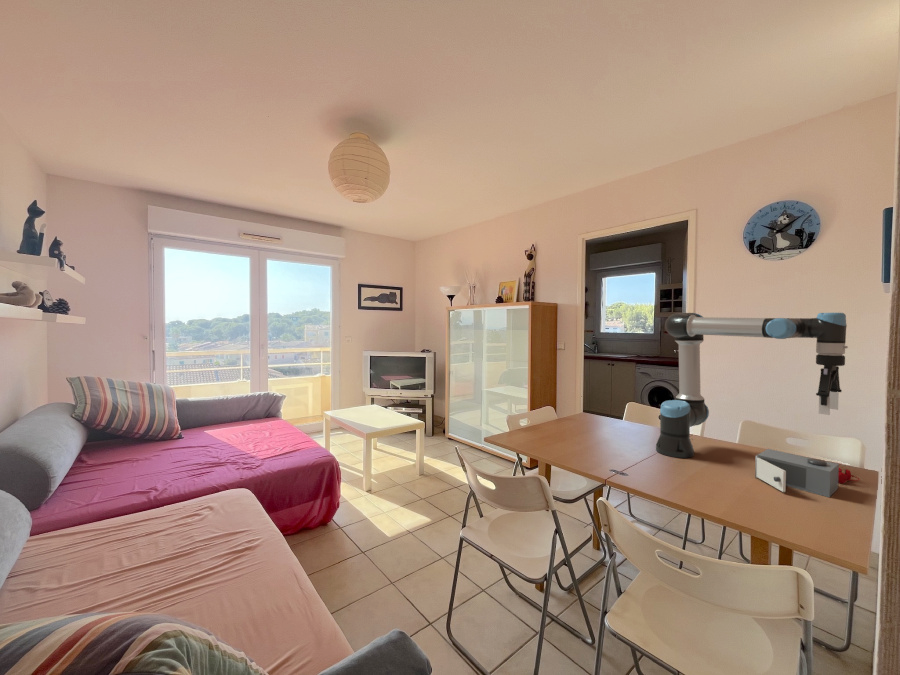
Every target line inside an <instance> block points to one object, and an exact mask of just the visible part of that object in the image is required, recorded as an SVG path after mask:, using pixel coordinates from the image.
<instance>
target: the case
mask: <svg viewBox="0 0 900 675" xmlns="http://www.w3.org/2000/svg"><path fill="white" fill-rule="evenodd" d="M756 455H757V456H759V458H761V459H763V460H765V461H767V462H769V463H771V464H773V465H775V466H777V467H779V468H781V469H783V470H785V471H786V487H790V488H794V489H797V490H800V491H805V492H808V493H812V494H815V495H819V496H822V497H826V498H830V497H831V496H833V494H834V493H836V491H837V490H838V489H839V483H838V473H839V468H840V467H839V466H840V465H839V463H836V462H832V461H826V460H824V459H823V460H822V459H818V458H814V457H809V456H803V455H799V454H793V453H790V452H785V451H780V450H777V449H776V450H775V449H772V448H767V449H765V450H764V451H762V452H760V453H758V454H756Z"/></svg>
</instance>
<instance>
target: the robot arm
mask: <svg viewBox="0 0 900 675" xmlns="http://www.w3.org/2000/svg"><path fill="white" fill-rule="evenodd" d="M664 323H665V324H664V328H665V331H666V332H667V333H668V335H670V336H671V337H673V338H674V342H676V344H677V345H678V374H679V375H678V378H679V379H678V384H679V385H678V388H679V390H678V392H679V393H678V394H677V395H675V399H672V400H671V399H669V400H665V401H663V402H662V403H661V404H660V409H659V411H660V414H659V415H660V423H659V424H660V425H659V426H660V428H659V429H660V430H659V431H660V432H659V437H658V438H657V442H656V444H655V451H656V452H658V453H659V454H661V455H664V456H666V457H667V456H668V457H671V458H679V459H686V458H687V459H688V458H689V459H690V458H693V457H694V456H695V449H694V447H693V443H692V441H691V438H690V432H691V429H690V428H691V427H695V426H700V425H701V424H703V423H705V422H706V421H707V419H708V418H709V416H710V411H709V410H710V409H709V408H708V405H706V403H705V398H704V396H702V394H701V350H700V349H701V344H702V343H703V342H704V336H719V337H720V336H722V337H723V336H724V337H726V336H727V337H743V338H744V337H746V338H747V337H748V338H766V339H767V338H769V339H777V340H786V339H795V338H798V339H799V338H800V339H801V338H805V339H806V338H807V339H808V338H809V339H816V345H815V353H816V355H815V364H816V365H818V366H823V367H822V368H820V377H819V383H818V389H817V392H816V393H815V395H816V396H818V414H819V415H827V416H830V414H831V413H830V412H831V410H837V411H838V410H839V394H840V393H842V389H841V387H840V373H839V370H840V368H839V367H843V366H845V365H846V356H845V354H846V349H848V348H849V347H848V345H846V339H847V315H846V313H844V312H819V313H818V314H817V315H816V317H812V318H811V317H810V318H809V317H807V318H797V317H796V318H793V317H792V318H791V317H790V318H788V317H787V318H786V317H777V318H775V317H772V318H771V317H711V316H710V317H708V316H706V317H704V316H703V315H701V314H699V313H696V312H675V313H673V314H671V315H669V316H668V318H666V320H665V322H664Z"/></svg>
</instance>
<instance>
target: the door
mask: <svg viewBox="0 0 900 675" xmlns="http://www.w3.org/2000/svg"><path fill="white" fill-rule="evenodd" d="M757 455H758V454H755V461H754V462H755V468H754V469H755V471H754V476H755V478H756V479H759V480H761V481H763V482H765V483H767V484H768V485H770V486H772V487H773V488H775V489H777V490H779V491H780V492H782V493H786V488H787V486H786V471H785V470H783V469H781V468H779V467H777V466H775V465H773V464H771V463H769V462H767V461H765V460H763V459H761V458H759V456H757Z"/></svg>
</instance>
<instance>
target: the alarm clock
mask: <svg viewBox="0 0 900 675" xmlns="http://www.w3.org/2000/svg"><path fill="white" fill-rule="evenodd" d="M852 478H856V479H852ZM860 480H861V478H859V477H857V476H854V475H852V472H851V471H850V469H846V468H845V470H844V472H843V470H842V468H841V467H839V473H838V484H841V485H842V484H845V483H847V482H849V481H851V482H853V481H854V482H857V481H858V482H859V481H860Z"/></svg>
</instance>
